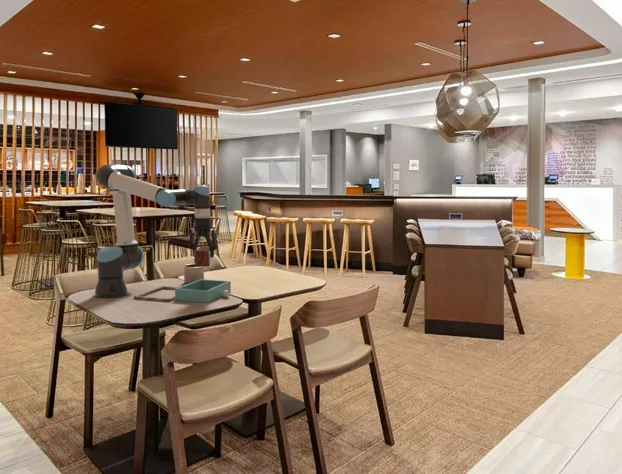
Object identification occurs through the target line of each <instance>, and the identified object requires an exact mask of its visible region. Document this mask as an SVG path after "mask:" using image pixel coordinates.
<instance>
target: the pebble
mask: <svg viewBox="0 0 622 474" xmlns="http://www.w3.org/2000/svg"><path fill="white" fill-rule="evenodd" d="M230 293H231V292H229V291H228V290H224V291H223V292H222V297H224V298H228V297H230Z"/></svg>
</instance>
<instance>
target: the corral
mask: <svg viewBox="0 0 622 474" xmlns="http://www.w3.org/2000/svg"><path fill="white" fill-rule="evenodd" d="M179 287H180V286H178V287H177V286H166V285H162V286H160V287H156V288H154V289H151V290H148V291H145V292H142V293H139V294H137V295H134V296H133V300H140V301H141V300H142V301H155V302H167V303H170V302H173V301H175V300H174V299H175V295H173V296H172V297H169V298H166V297H165V298H164V297H154V296H153V297H152V296H148V295H150V294H154V293H157V292H159V291H162V290H171V289H176V288H179ZM172 300H173V301H172Z"/></svg>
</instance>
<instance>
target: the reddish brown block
mask: <svg viewBox="0 0 622 474" xmlns="http://www.w3.org/2000/svg"><path fill="white" fill-rule="evenodd" d="M209 250H210V249H209V246H208V245H205V246H200V247H199V248H197V249H196V251H194V255H195V256H194V257H195V258H194V257H193V261H195V263H196V266H204V267H206V268H207V267H210V265H211V264H209V252H208V251H209Z"/></svg>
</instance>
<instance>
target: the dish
mask: <svg viewBox="0 0 622 474" xmlns="http://www.w3.org/2000/svg"><path fill="white" fill-rule="evenodd" d="M178 287H179V288H176V289H175V290H174V296H175V300H174V301H181V300H183V301H184V302H193V301H194V302H195V303H210V302H212V301H214V300H216V299H218V298H220V297H223V295H222V292H223V291H224V290H228V291H229V293H231V292H232V288H231V281H229V280H219V279H218V280H216V279H205V278H204V279H200V280H197V281H195V282H192V283H189V284H187V283H186V284H185V285H182V286H178Z"/></svg>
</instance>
